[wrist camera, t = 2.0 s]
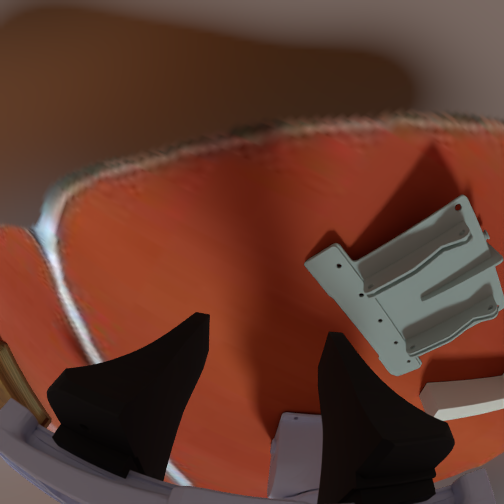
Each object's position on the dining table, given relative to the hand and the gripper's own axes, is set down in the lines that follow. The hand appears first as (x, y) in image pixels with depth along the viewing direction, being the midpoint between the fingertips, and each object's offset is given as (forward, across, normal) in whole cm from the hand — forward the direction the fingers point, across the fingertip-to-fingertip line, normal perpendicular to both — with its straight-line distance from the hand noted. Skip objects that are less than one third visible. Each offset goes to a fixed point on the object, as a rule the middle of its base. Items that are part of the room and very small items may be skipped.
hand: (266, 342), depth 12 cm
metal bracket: (+10, -12, 0) cm, 15 cm away
